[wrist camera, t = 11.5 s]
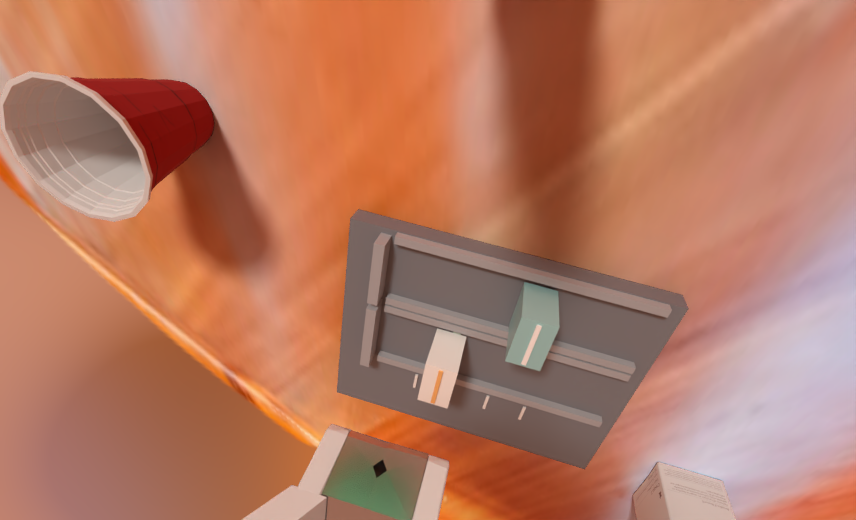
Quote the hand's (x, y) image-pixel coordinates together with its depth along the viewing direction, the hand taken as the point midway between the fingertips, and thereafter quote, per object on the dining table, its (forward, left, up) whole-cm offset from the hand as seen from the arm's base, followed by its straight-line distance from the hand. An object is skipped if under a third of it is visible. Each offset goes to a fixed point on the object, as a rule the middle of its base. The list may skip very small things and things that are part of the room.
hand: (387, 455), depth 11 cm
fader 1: (0, +22, -27) cm, 35 cm away
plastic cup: (+28, +5, -29) cm, 41 cm away
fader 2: (-7, +14, -27) cm, 31 cm away
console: (-4, +22, -29) cm, 37 cm away
